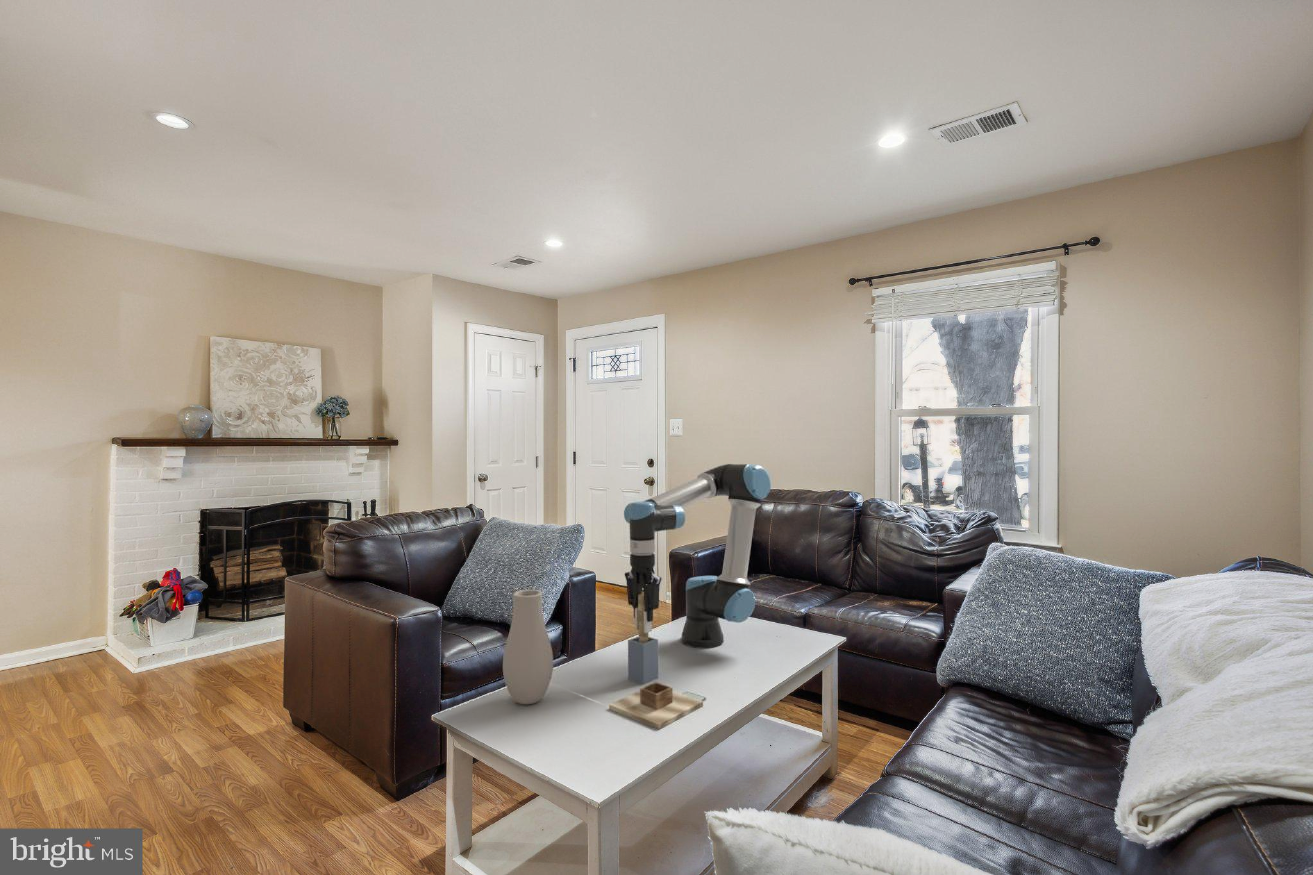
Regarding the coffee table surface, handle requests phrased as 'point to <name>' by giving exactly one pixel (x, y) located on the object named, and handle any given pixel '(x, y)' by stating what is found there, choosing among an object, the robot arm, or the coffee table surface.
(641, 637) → the dowel
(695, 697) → the smartphone
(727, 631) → the coffee table surface
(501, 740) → the coffee table surface
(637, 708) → the board with square socket
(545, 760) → the coffee table surface
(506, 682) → the vase
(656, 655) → the grey square tube
